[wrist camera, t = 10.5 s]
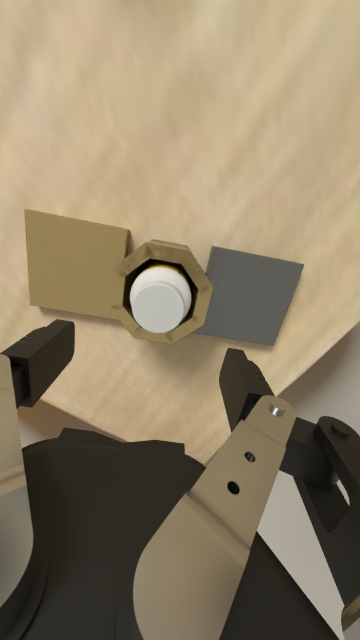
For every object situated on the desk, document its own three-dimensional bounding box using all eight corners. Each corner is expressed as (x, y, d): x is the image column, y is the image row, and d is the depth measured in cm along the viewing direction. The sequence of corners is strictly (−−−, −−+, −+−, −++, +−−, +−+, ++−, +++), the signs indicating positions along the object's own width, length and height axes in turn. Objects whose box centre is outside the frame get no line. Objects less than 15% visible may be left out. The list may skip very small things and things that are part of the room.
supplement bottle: (197, 277, 26) (208, 304, 17) (169, 313, 28) (166, 354, 18) (159, 247, 25) (148, 258, 16) (132, 286, 26) (108, 317, 17)
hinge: (298, 263, 25) (332, 272, 20) (269, 341, 29) (291, 368, 23) (31, 210, 23) (-15, 204, 18) (36, 302, 27) (-1, 321, 21)
